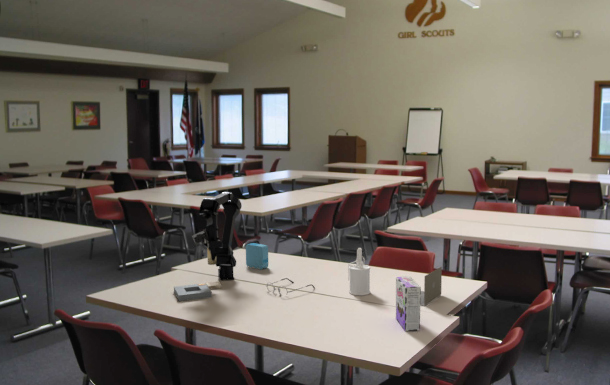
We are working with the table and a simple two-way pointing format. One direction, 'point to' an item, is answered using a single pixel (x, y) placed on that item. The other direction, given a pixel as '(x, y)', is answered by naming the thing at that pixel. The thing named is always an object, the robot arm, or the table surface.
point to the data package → (257, 255)
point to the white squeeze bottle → (359, 276)
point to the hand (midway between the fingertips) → (212, 259)
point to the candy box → (408, 303)
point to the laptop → (431, 287)
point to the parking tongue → (213, 285)
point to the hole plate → (192, 292)
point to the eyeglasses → (283, 286)
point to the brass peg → (210, 258)
